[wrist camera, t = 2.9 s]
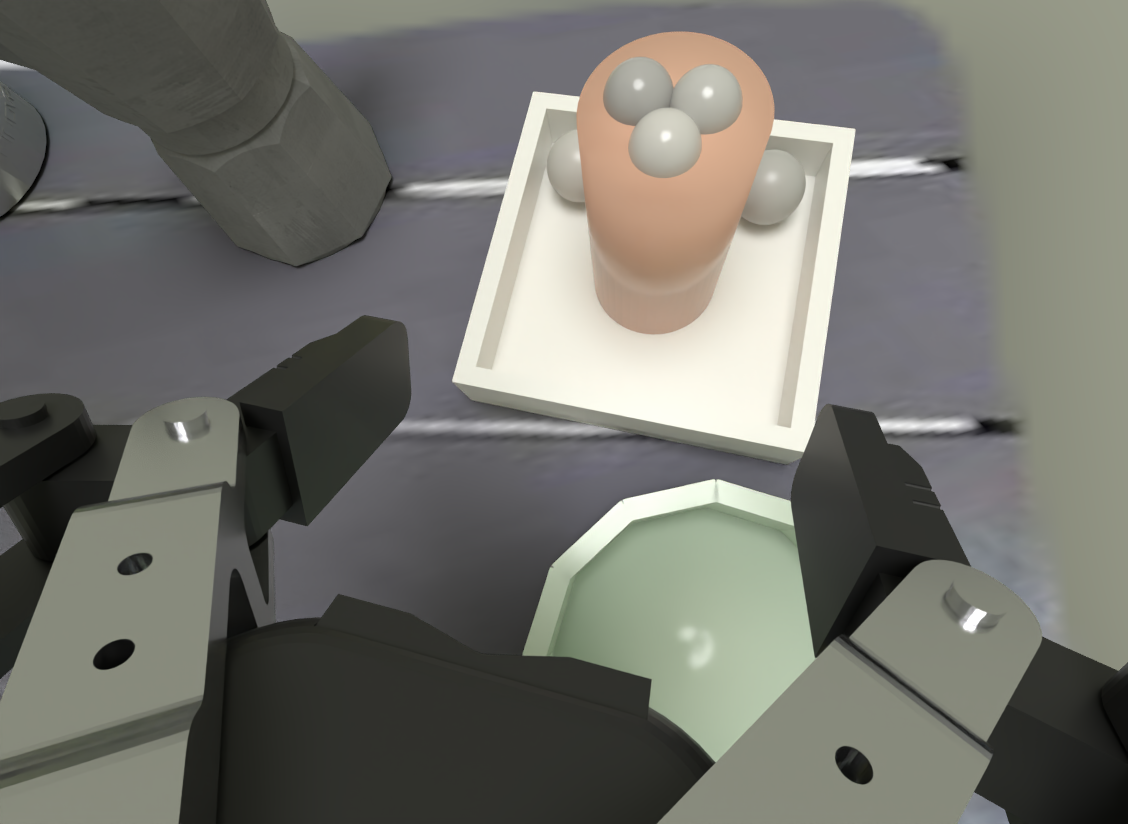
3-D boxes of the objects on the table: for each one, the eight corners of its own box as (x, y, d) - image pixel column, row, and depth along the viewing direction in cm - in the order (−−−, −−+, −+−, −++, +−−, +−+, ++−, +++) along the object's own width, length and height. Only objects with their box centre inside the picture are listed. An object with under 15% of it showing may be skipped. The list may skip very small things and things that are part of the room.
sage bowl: (577, 879, 21) (568, 944, 18) (513, 530, 24) (495, 527, 21) (928, 813, 20) (990, 867, 17) (815, 463, 23) (847, 449, 20)
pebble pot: (609, 346, 25) (598, 199, 14) (582, 239, 26) (555, 32, 16) (730, 318, 24) (811, 146, 14) (697, 211, 26) (748, -19, 15)
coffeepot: (267, 333, 28) (-344, -31, 10) (161, 221, 30) (-492, -237, 12) (488, 124, 29) (288, -508, 12) (372, 32, 31) (57, -616, 14)
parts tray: (471, 400, 26) (445, 375, 22) (542, 137, 28) (530, 77, 25) (787, 464, 24) (817, 449, 20) (829, 174, 26) (863, 114, 23)
